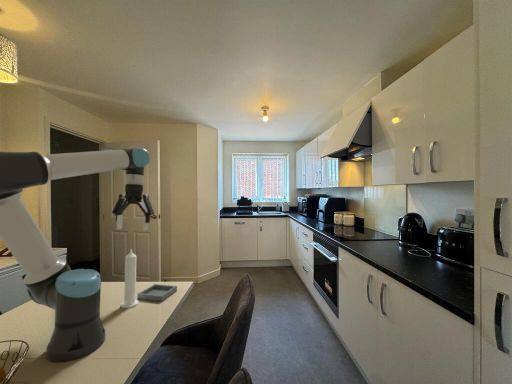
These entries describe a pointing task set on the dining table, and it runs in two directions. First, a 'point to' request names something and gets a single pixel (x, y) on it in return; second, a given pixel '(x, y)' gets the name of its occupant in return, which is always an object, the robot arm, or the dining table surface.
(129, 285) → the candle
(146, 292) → the tray
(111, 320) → the dining table surface
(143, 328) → the dining table surface
